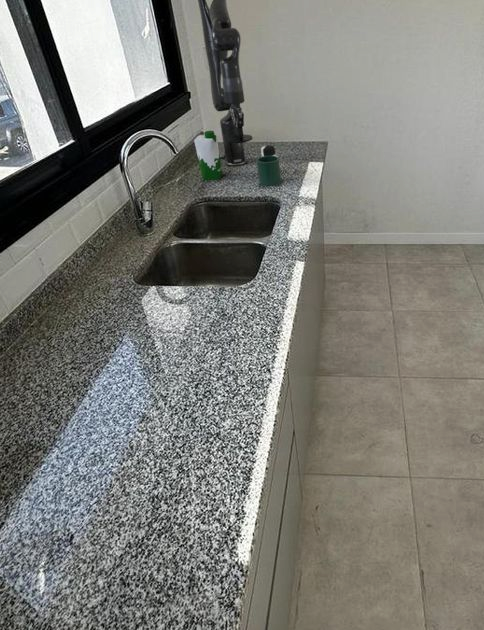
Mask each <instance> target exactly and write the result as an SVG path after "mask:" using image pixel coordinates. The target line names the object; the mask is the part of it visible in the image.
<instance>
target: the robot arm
mask: <svg viewBox="0 0 484 630" xmlns="http://www.w3.org/2000/svg"><path fill="white" fill-rule="evenodd" d="M197 4H198V10H199V13H200V19H201V20H200V21H201V28H202V35H203V42H204V49H205V54H206V60H207V65H208V72H209V83H210V94H211V101H212V105H213V107H214V110H215V111H216V112H219V113H220V112H225V111H227V113H226V115H224V116H223V117H221V119H220V120H219V127H220V131H221V137H222V143H223V149H224V152H223V153H224V154H223V156H220V160H224V159H225V161H226V165H227V166H229V167H238V166H242V165H244V164H246V163H247V159H246V153H245V147H244V146H245V145H244V143H233V142H229V141H228V138H229V137H231V136H234V135H237V133H238V137H243V136H244V135H245V134H244V130H243V129H244V128H243V127H245V113H244V112H243V108H242V107H241V104H243V103H244V102H245V94H244V93H245V92H244V88H243V87H244V85H243V80H242V75H241V69H240V50H241V43H242V39H241V34H240V32H239V30H238V29H237V28H236V27H232V20H231V17H230V13H229V10H228V5H227V0H212V1H211V4H210V6H209V5H208V3H207V0H197ZM230 51H231V54H230V55H229V52H230ZM228 55H229V56H228ZM236 127H237V132H236Z"/></svg>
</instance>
